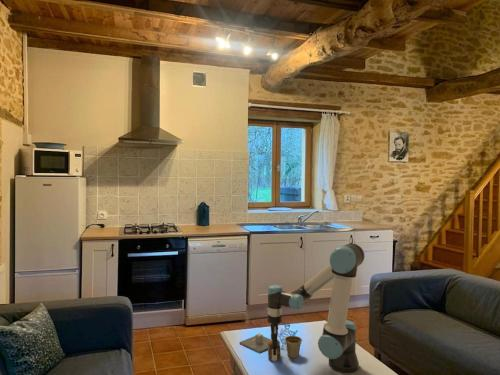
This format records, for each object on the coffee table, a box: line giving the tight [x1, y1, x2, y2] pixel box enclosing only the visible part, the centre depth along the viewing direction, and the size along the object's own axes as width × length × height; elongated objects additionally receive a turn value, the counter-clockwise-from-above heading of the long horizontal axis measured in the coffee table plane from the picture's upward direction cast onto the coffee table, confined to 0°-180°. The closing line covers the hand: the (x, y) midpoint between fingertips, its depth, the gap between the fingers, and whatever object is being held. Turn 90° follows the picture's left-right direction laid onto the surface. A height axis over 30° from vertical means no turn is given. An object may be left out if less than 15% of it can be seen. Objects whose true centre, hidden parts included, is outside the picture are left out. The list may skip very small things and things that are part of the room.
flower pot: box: [284, 335, 303, 358], centre depth 200 cm, size 9×9×9 cm
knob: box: [267, 339, 281, 360], centre depth 198 cm, size 6×6×8 cm
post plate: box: [239, 333, 272, 354], centre depth 213 cm, size 16×16×6 cm
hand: (273, 356), depth 198 cm, fingers open, 9 cm apart
